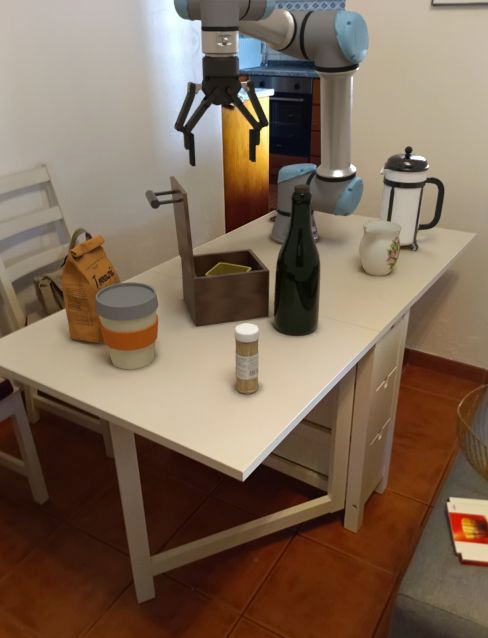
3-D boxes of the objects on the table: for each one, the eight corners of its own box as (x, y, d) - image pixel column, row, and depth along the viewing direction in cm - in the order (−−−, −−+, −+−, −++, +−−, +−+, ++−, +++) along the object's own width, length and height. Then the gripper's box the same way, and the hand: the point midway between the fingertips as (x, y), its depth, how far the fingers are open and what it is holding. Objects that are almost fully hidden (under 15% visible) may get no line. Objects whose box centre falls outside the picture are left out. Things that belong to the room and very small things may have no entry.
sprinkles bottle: (252, 380, 119) (252, 320, 112) (262, 391, 115) (263, 330, 109) (231, 385, 117) (230, 325, 111) (241, 397, 114) (241, 335, 107)
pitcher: (409, 265, 172) (416, 219, 165) (382, 285, 160) (388, 236, 153) (375, 256, 178) (380, 212, 171) (346, 275, 166) (350, 227, 159)
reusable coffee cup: (167, 368, 123) (162, 303, 115) (105, 378, 120) (96, 311, 112) (157, 340, 133) (152, 278, 126) (101, 348, 130) (92, 285, 123)
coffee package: (133, 325, 139) (123, 235, 128) (99, 349, 130) (85, 254, 119) (99, 317, 143) (87, 229, 132) (64, 339, 134) (47, 246, 123)
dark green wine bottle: (290, 340, 133) (296, 194, 116) (264, 322, 141) (267, 183, 124) (326, 329, 138) (338, 187, 121) (300, 312, 145) (307, 176, 129)
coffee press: (404, 257, 177) (419, 154, 162) (362, 243, 188) (372, 145, 173) (437, 244, 187) (453, 146, 172) (395, 232, 198) (408, 138, 183)
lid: (173, 176, 136) (141, 180, 134) (186, 193, 123) (151, 197, 121) (182, 253, 145) (152, 258, 144) (195, 276, 133) (163, 282, 131)
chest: (250, 292, 156) (250, 248, 150) (268, 316, 143) (269, 270, 137) (183, 300, 151) (180, 256, 145) (196, 326, 139) (193, 279, 133)
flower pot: (252, 300, 149) (252, 266, 145) (238, 314, 142) (238, 280, 138) (220, 294, 152) (219, 261, 148) (205, 308, 145) (204, 274, 141)
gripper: (162, 57, 113) (169, 170, 124) (285, 55, 119) (282, 162, 130) (156, 55, 119) (163, 163, 130) (272, 52, 126) (271, 155, 136)
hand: (222, 163), depth 130 cm, fingers open, 13 cm apart
